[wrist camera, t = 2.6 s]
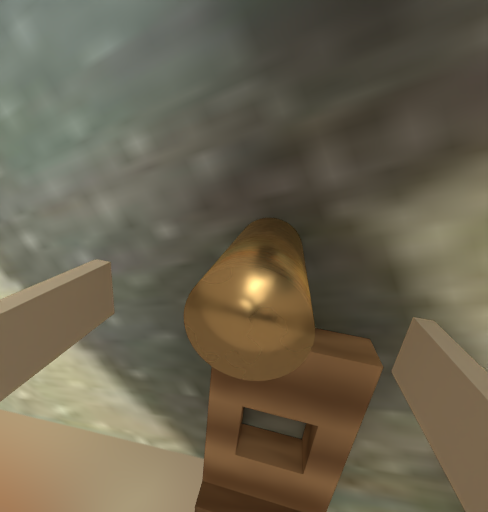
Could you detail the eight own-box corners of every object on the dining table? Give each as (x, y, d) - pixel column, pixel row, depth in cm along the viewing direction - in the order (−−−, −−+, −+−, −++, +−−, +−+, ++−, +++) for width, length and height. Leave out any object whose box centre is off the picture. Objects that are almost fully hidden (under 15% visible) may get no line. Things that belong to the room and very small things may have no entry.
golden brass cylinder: (240, 213, 18) (185, 255, 8) (308, 222, 17) (329, 280, 8) (234, 274, 20) (182, 365, 10) (296, 285, 19) (300, 393, 10)
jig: (224, 309, 21) (205, 349, 16) (370, 339, 19) (395, 392, 14) (210, 458, 28) (194, 515, 23) (316, 489, 26) (322, 558, 21)
